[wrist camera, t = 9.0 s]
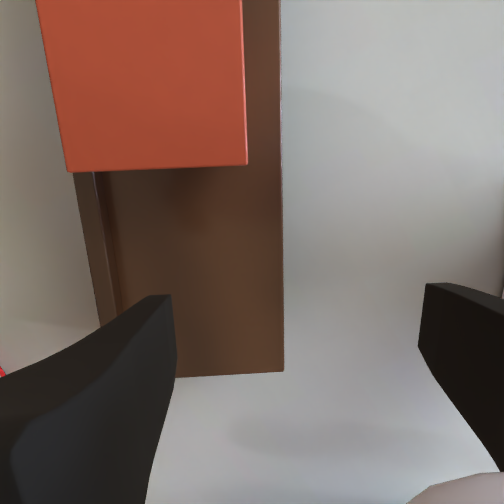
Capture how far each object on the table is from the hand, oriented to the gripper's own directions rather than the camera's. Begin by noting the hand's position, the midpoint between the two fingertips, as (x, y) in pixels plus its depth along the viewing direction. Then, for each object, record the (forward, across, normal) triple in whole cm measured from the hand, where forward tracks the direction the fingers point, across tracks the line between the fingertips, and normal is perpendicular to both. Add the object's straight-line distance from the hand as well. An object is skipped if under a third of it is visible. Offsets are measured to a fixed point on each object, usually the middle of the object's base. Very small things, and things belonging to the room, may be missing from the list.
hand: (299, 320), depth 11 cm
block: (+6, +4, -7) cm, 10 cm away
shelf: (+10, +4, -4) cm, 12 cm away
